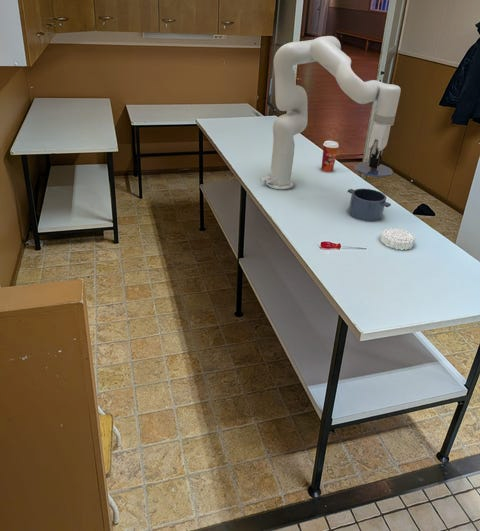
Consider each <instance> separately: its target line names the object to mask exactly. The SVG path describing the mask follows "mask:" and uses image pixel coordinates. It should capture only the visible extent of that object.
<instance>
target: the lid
mask: <svg viewBox="0 0 480 531" xmlns="http://www.w3.org/2000/svg"><path fill="white" fill-rule="evenodd" d="M378 158H380V157H378ZM369 163H370V162H358V163H356V164H355V165H354V170H355V171H356V172H357V173H360V174H361V175H365V176H370V177H376V178H385V177H386V178H387V177H390V176H393V173H394V171H393V169H392V168H390V167H389V166H387V165H384V164H381V163H380V165H379V166H377V168H372V167H369ZM378 163H379V161H378Z"/></svg>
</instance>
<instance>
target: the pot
mask: <svg viewBox="0 0 480 531" xmlns="http://www.w3.org/2000/svg"><path fill="white" fill-rule="evenodd" d="M347 193H348V194H351V195H350V201H349V206H348V214H349V216H351V217H352V218H354V219H357V220H360V221H363V222H377V221H380V220H382V218H383V215H384V210H385V208H389V207H391V205H392V203H390V202H388V201H387V196H386V194H384V193H383V192H381V191H379V190H376V189H371V188H356V189H353V188H349V189H347Z"/></svg>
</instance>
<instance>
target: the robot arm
mask: <svg viewBox="0 0 480 531" xmlns="http://www.w3.org/2000/svg"><path fill="white" fill-rule="evenodd" d="M273 57H274V58H273V70H274V72H273V73H274V97H275V98H274V100H275V106H276V108H277V109H278V110H279V111H281V112H287V113H284V114H281V115H279V116H277V117H276V118H275V120H274V121H273V124H272V135H273V136H272V138H273V141H272V152H271V161H270V163H271V164H270V171H269V174H267V176H266V177H261V178H260V179H259V180H260V183H265V185H266V186H267V187H269V188H271V189H275V190H289V189H292V188H293V187H294V181H292V179H291V178H292V173H293V164H294V156H295V146H296V144H295V138H294V136H296V135H298V134H300V133H302V132H304V131H305V130H306V128H307V126H308V122H309V121H308V120H309V119H308V116H309V115H308V113H309V112H308V111H309V110H308V94H307V92H306V89H305V88H304V87H303V86H301V85H298V84H296V73H295V70H294V66H296V65H297V66H298V65H304V64H309V63H315V62H317V63H318V64H319V65H320V66H322V67H323V68H324V69H325V70H326V71H328V72H329V73H330V74H331V75H332V76H333V77H334V78H335V80H336V82H337V85H338V86H339V88H340V89H341V90H342V92H343V93H344V94H345V95H347V97H349V98H350V99H351V100H352V101H353V102H356V103H357V104H359V105H366V104H368V103H374V102H376V106H375V111H374V116H373V121H372V123H373V126H372V131H371V134H370V137H369V138H370V139H369V142H368V146H367V149H368V150H371V153H370V158H369V162H368V163H369V167H372V168H377V166H379V165H380V164H381V161H382V155H383V151H384V149H385V148H386V147H387V145H388V141H389V137H390V132H391V126H394V123H395V121H396V120H395V119H396V114H397V112H398V111H397V110H398V105H399V101H400V96H401V92H402V91H401V87H400V86H399V85H396V84H391V83H385V82H382V81H379V80H376V79H371V80H367V81H363V80H362V78H360V77H359V76H358V75H357V74H356V73H355V72H354V70H353V69H352V67H351V65H352V59H351V57H350V56H348V55H347V54H346V53H345V52H344V51H343V50H342V45H341V42H340V40H339V39H338V38H337V37H336V36H333V35H323V36H319V37H318V36H317V37H316V38H314V39H309V40H301V41H291V42H288V43H285V44H283V45H281V46H280V47H279V48H278V49H277V51H276V52H275V54H274V56H273ZM378 157H380V158H378ZM378 161H379V163H378Z"/></svg>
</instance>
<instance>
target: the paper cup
mask: <svg viewBox="0 0 480 531" xmlns="http://www.w3.org/2000/svg"><path fill="white" fill-rule="evenodd" d="M322 145H323V150H322V158H321V171H322V172H324V173H333V170H334V167H335V162H336V158H337V154H338V150H339V147H340V145H339V142H337V141H335V140H325V141H324V143H323V144H322Z"/></svg>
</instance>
